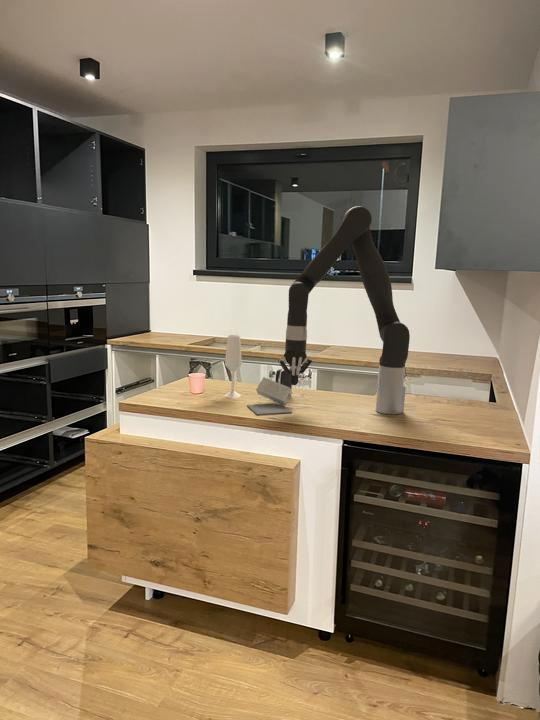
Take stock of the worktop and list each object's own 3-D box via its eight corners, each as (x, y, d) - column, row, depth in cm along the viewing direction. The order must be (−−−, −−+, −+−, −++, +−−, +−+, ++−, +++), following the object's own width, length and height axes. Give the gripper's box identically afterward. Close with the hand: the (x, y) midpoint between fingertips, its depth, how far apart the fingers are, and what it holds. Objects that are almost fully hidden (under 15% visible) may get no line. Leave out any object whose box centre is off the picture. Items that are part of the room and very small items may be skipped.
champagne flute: (242, 394, 210) (243, 334, 206) (239, 398, 204) (241, 337, 199) (225, 393, 211) (227, 334, 206) (222, 397, 204) (223, 336, 200)
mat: (279, 404, 197) (279, 402, 197) (291, 413, 186) (291, 411, 186) (247, 406, 193) (247, 404, 193) (257, 415, 182) (257, 414, 182)
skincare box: (292, 393, 197) (265, 381, 201) (291, 388, 193) (263, 376, 197) (285, 406, 194) (257, 394, 199) (283, 401, 191) (255, 389, 195)
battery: (284, 394, 212) (285, 366, 210) (292, 396, 209) (293, 368, 207) (273, 397, 207) (274, 369, 205) (280, 399, 204) (281, 370, 202)
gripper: (308, 336, 194) (306, 381, 197) (275, 336, 189) (273, 383, 192) (317, 339, 187) (314, 386, 190) (282, 339, 182) (280, 387, 185)
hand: (293, 384), depth 191 cm, fingers closed
